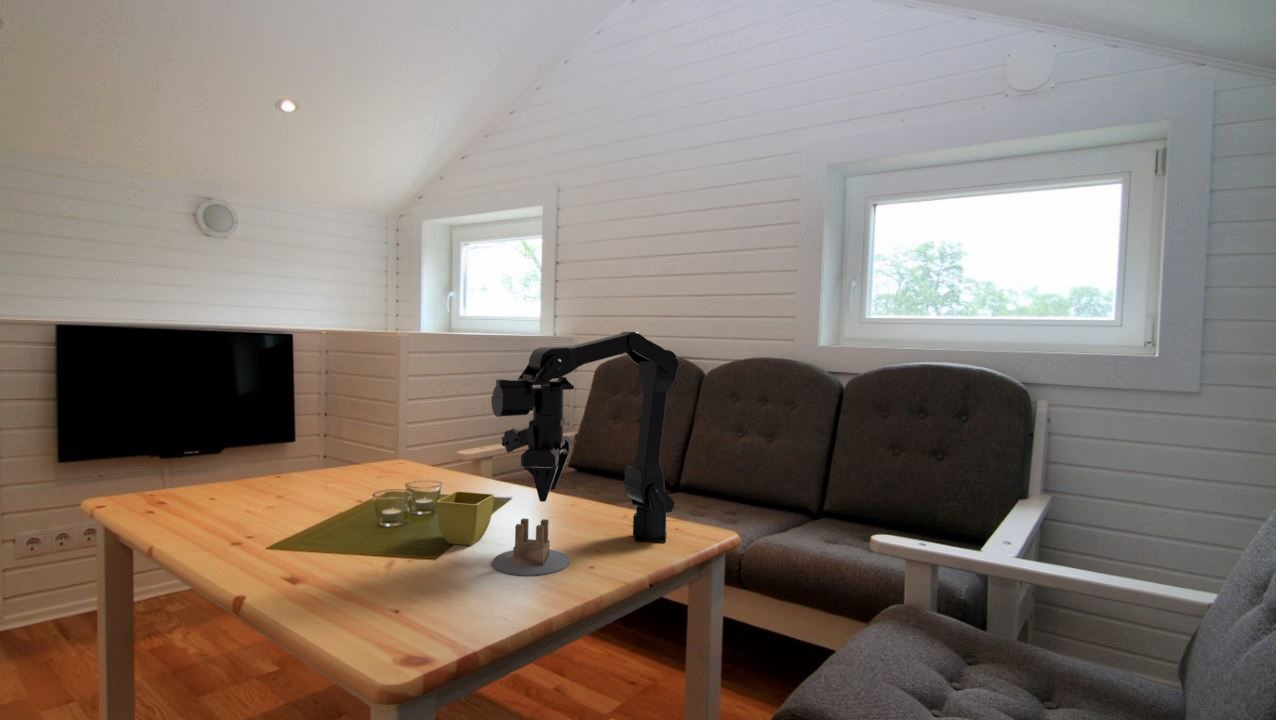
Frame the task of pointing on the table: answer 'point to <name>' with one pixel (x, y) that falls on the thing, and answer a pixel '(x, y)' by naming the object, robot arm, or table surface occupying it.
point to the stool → (531, 544)
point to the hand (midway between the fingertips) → (547, 495)
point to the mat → (552, 565)
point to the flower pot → (464, 516)
